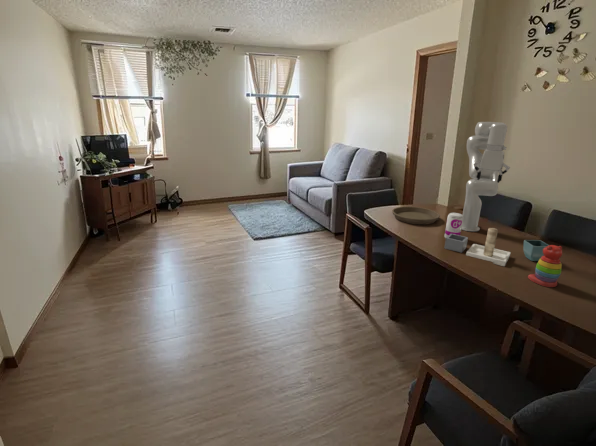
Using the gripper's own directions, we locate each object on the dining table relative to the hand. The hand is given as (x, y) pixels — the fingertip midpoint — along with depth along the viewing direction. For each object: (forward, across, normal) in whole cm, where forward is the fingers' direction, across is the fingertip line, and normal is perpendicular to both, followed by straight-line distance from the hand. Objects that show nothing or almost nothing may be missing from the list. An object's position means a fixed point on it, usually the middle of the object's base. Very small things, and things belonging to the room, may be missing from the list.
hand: (488, 180), depth 192 cm
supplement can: (+36, +13, +1) cm, 39 cm away
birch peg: (+35, -9, +15) cm, 39 cm away
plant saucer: (+37, +44, -23) cm, 62 cm away
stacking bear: (+36, -35, +29) cm, 58 cm away
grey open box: (+36, +7, +16) cm, 40 cm away
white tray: (+36, -9, +15) cm, 40 cm away
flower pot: (+36, -28, +3) cm, 46 cm away
